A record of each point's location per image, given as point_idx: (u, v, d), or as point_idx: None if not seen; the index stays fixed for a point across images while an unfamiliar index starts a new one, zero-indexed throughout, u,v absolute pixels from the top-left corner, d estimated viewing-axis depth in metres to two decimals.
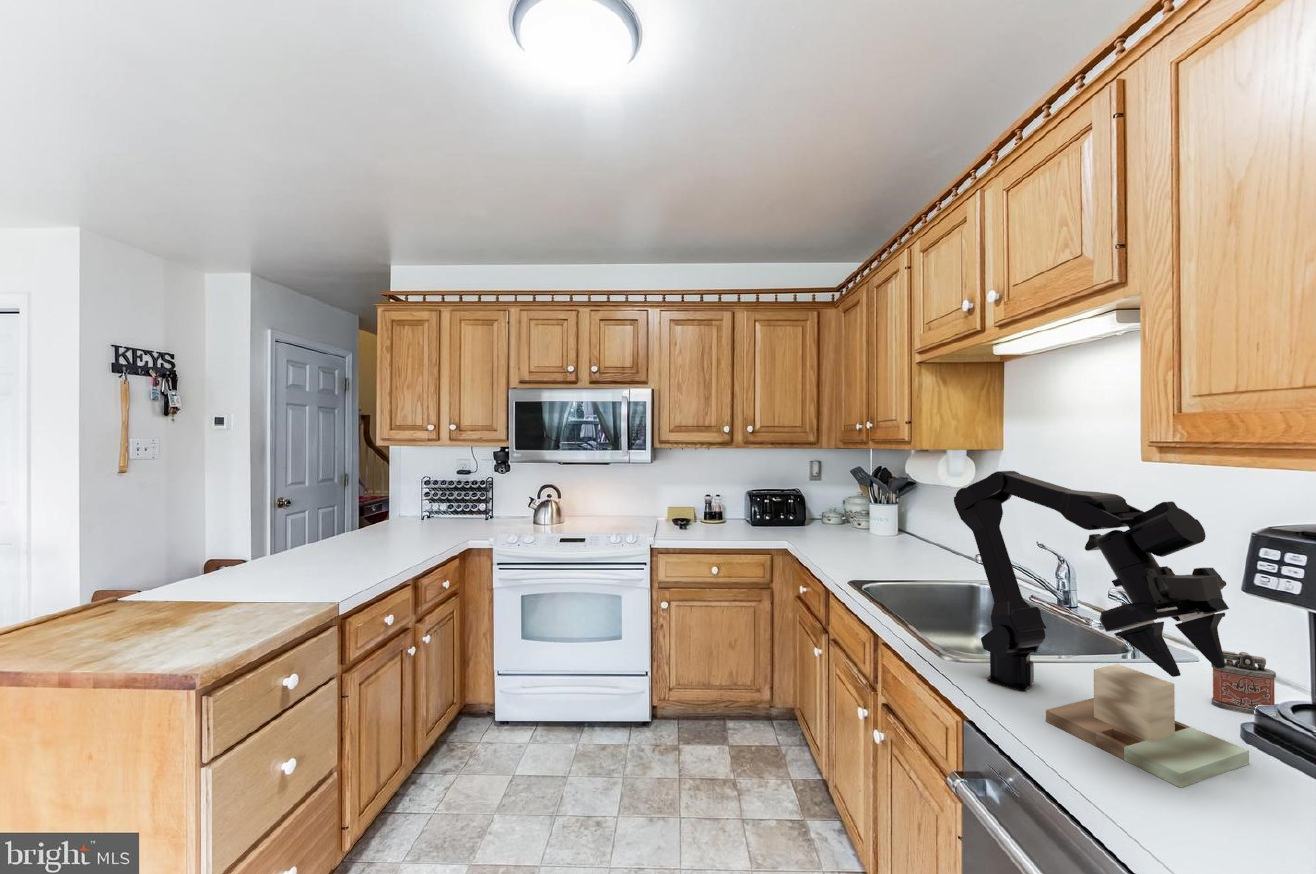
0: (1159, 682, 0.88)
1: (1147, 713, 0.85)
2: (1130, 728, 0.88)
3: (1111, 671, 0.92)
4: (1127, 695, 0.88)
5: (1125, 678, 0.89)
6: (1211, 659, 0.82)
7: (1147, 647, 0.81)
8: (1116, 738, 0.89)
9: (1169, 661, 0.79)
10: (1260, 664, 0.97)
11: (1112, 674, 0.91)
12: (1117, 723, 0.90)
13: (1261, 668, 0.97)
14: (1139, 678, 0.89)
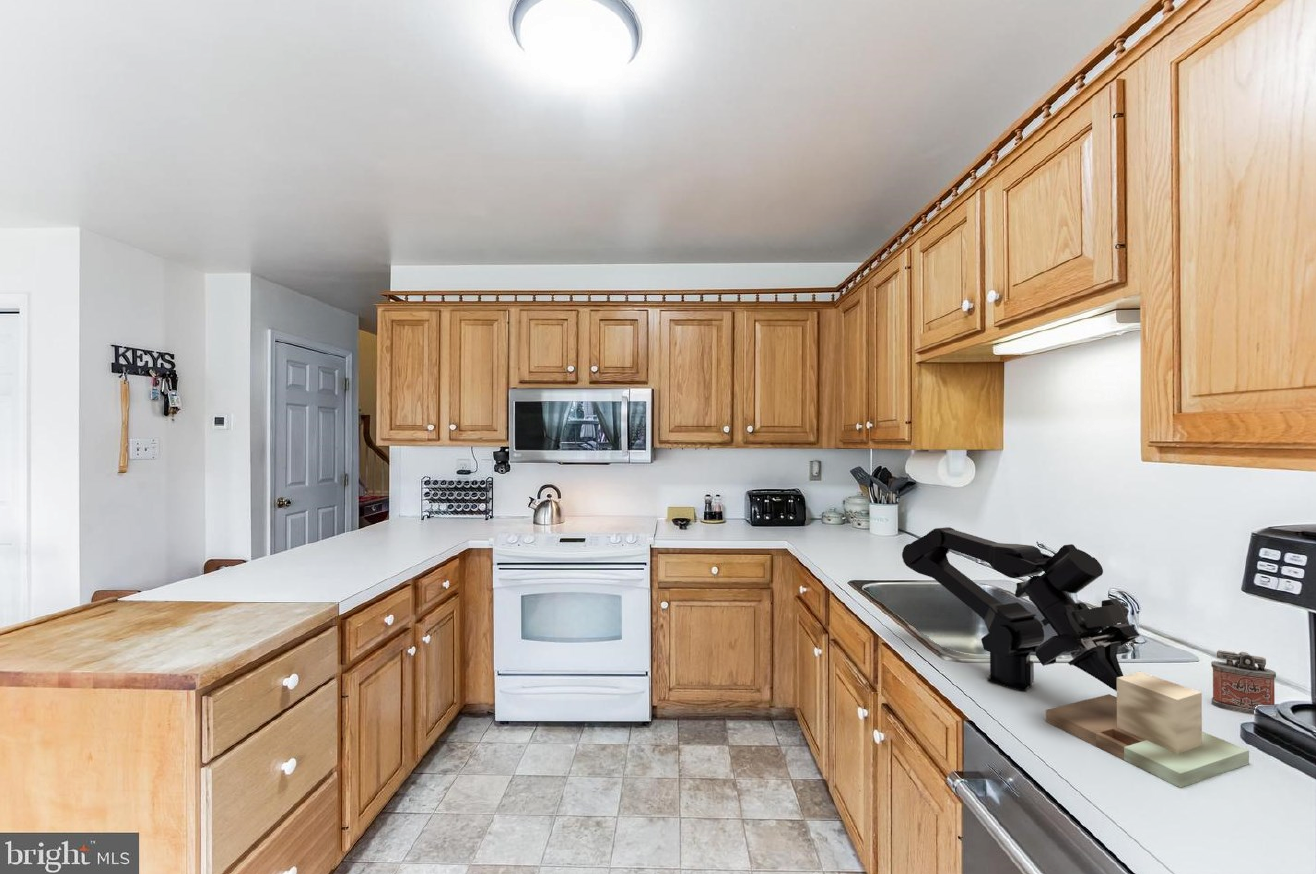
0: (1186, 691, 0.85)
1: (1176, 724, 0.82)
2: (1156, 739, 0.85)
3: (1135, 679, 0.89)
4: (1153, 705, 0.85)
5: (1150, 686, 0.86)
6: None
7: (1096, 671, 0.94)
8: (1116, 738, 0.89)
9: (1116, 680, 0.92)
10: (1260, 664, 0.97)
11: (1136, 682, 0.88)
12: (1142, 734, 0.86)
13: (1261, 668, 0.97)
14: (1165, 687, 0.86)
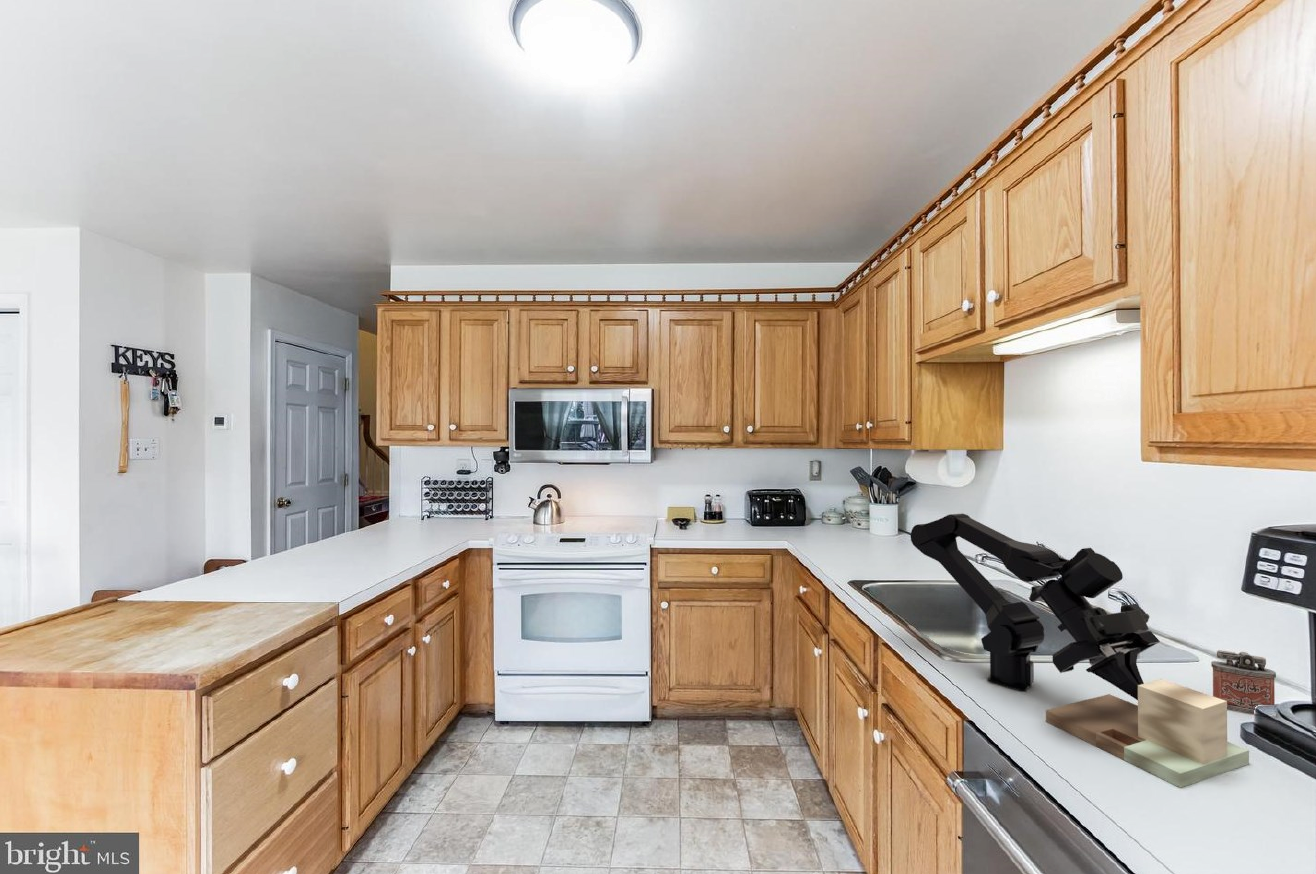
0: (1210, 699, 0.82)
1: (1201, 734, 0.80)
2: (1180, 749, 0.82)
3: (1157, 687, 0.86)
4: (1177, 714, 0.82)
5: (1174, 695, 0.84)
6: (1137, 694, 0.89)
7: (1116, 678, 0.91)
8: (1116, 738, 0.89)
9: (1136, 688, 0.89)
10: (1260, 664, 0.97)
11: (1158, 690, 0.85)
12: (1165, 743, 0.84)
13: (1261, 668, 0.97)
14: (1189, 695, 0.83)
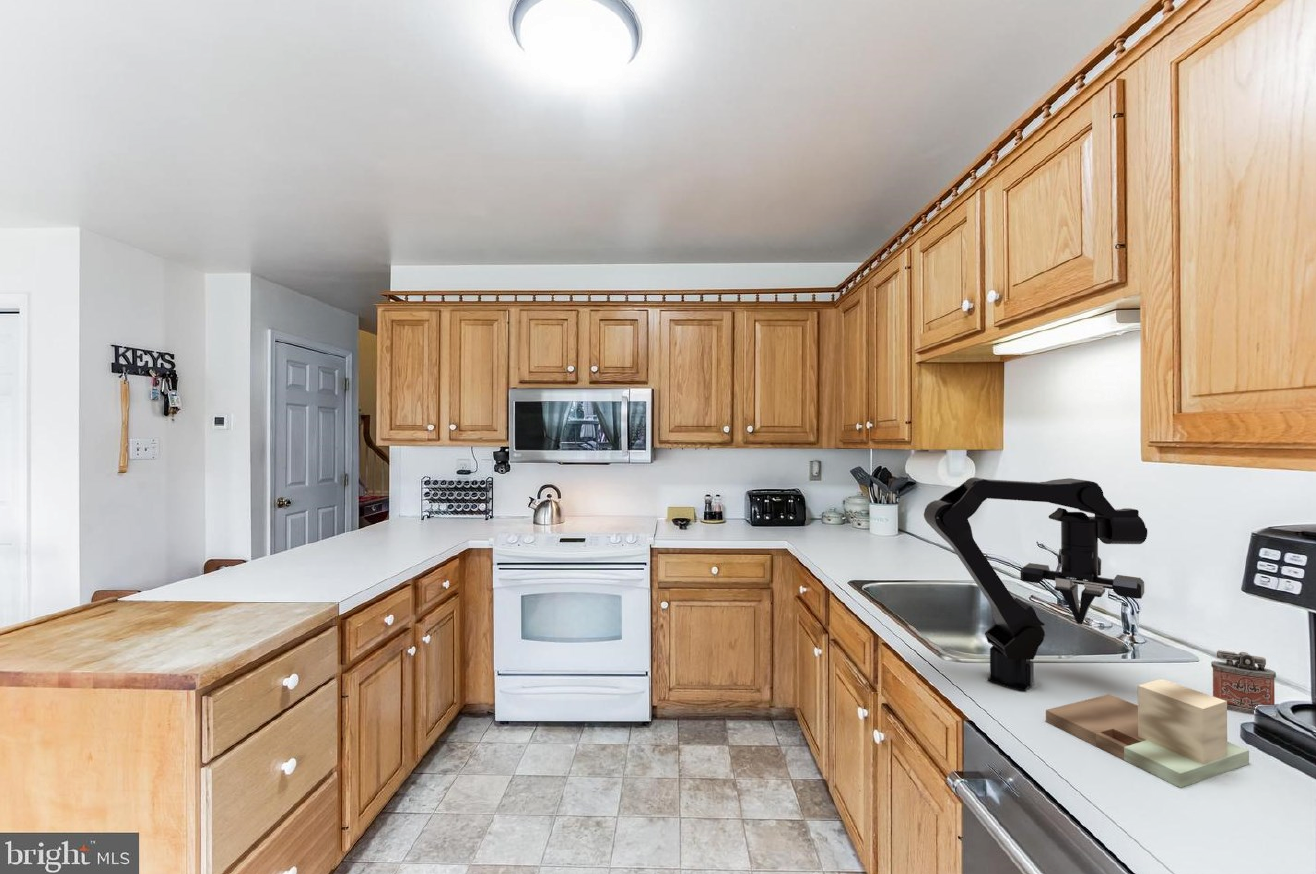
0: (1210, 699, 0.82)
1: (1201, 734, 0.80)
2: (1180, 749, 0.82)
3: (1157, 687, 0.86)
4: (1177, 714, 0.82)
5: (1174, 695, 0.84)
6: None
7: None
8: (1116, 738, 0.89)
9: None
10: (1260, 664, 0.97)
11: (1158, 690, 0.85)
12: (1165, 743, 0.84)
13: (1261, 668, 0.97)
14: (1189, 695, 0.83)
